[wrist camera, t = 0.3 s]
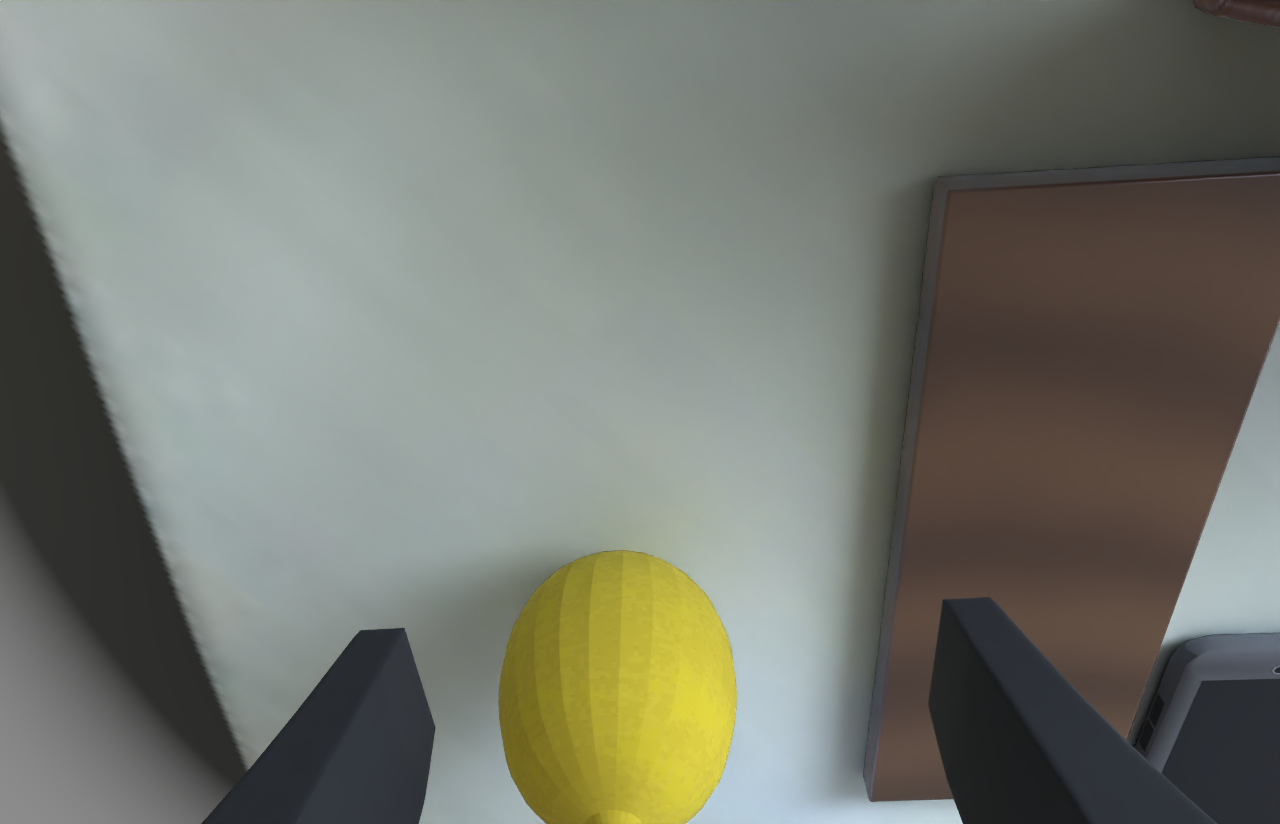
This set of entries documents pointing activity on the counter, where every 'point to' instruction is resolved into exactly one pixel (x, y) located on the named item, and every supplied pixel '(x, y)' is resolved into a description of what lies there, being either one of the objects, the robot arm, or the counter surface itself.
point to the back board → (1069, 422)
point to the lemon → (617, 694)
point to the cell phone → (1220, 726)
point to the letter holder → (1243, 10)
